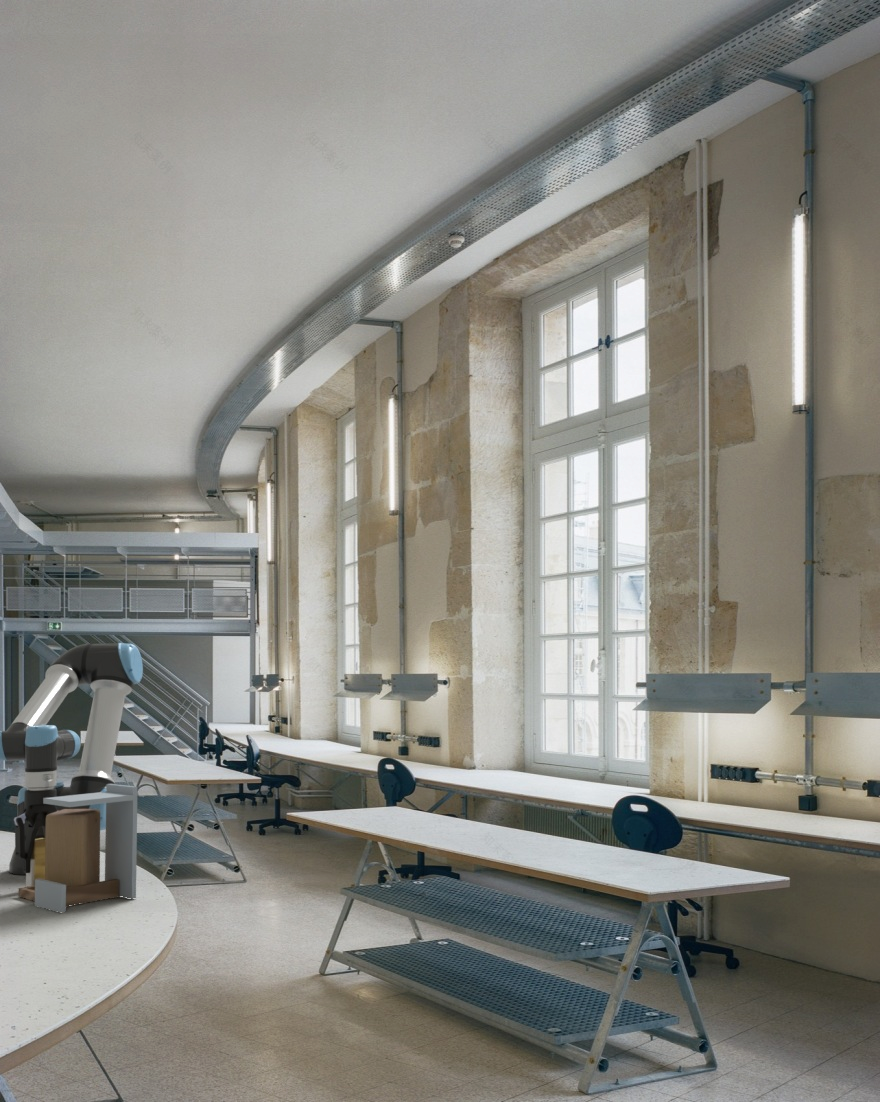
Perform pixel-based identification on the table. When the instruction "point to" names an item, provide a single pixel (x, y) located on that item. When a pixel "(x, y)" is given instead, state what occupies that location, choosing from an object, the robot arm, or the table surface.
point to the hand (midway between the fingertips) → (39, 884)
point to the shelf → (116, 843)
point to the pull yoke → (72, 893)
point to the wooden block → (73, 847)
